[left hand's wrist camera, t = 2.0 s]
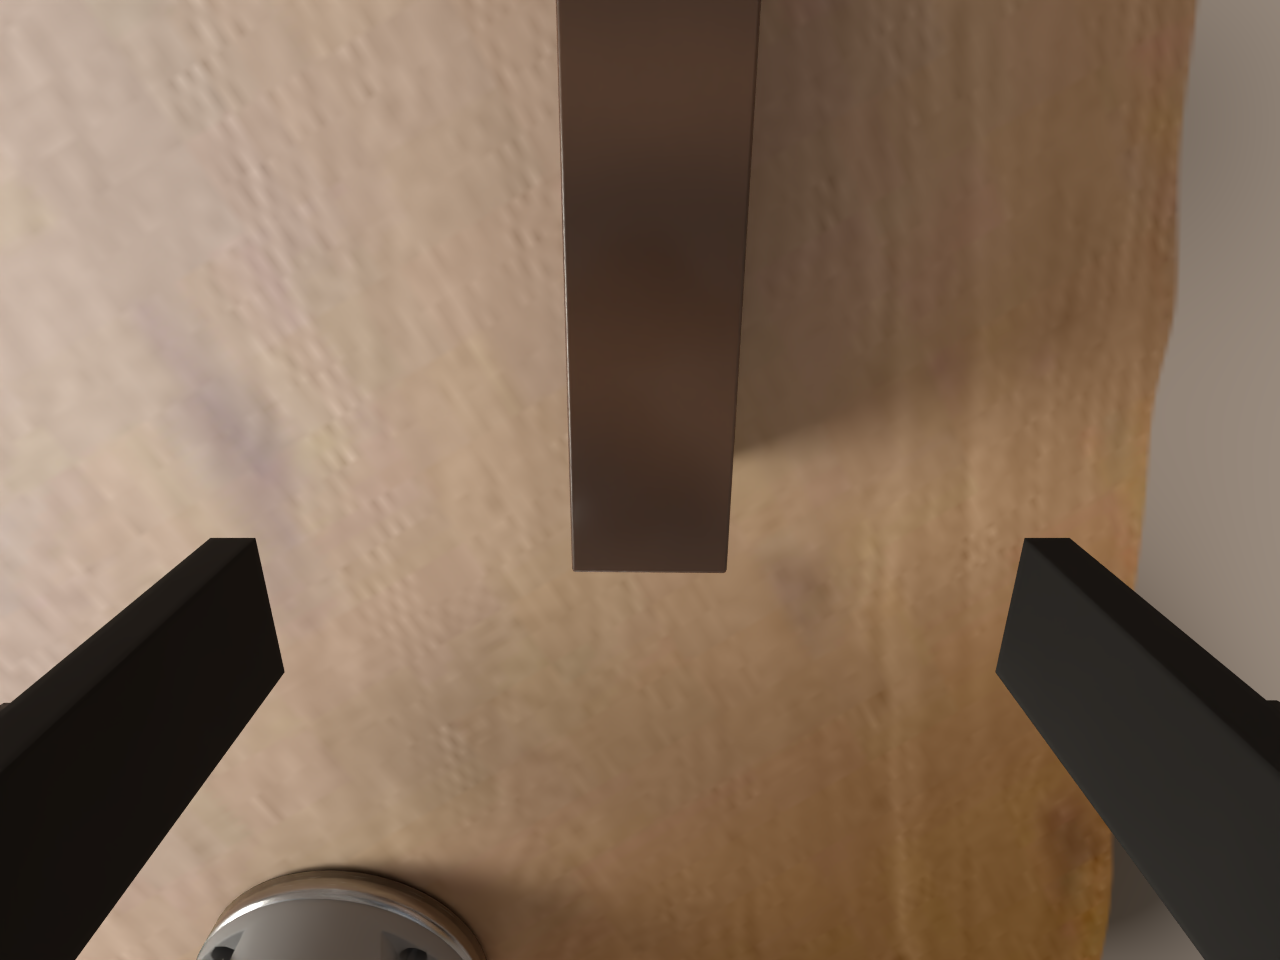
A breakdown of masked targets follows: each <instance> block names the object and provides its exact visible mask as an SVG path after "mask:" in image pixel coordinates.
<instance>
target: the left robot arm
mask: <svg viewBox="0 0 1280 960" xmlns="http://www.w3.org/2000/svg"><path fill="white" fill-rule="evenodd" d="M283 674H284V667H283V663H282V658H281V653H280V649H279V644H278V640H277V635H276V630H275V626H274V621H273V617H272V612H271V608H270V603H269V598H268V594H267V589H266V585H265V580H264V575H263V571H262V566H261V562H260V557H259V552H258V548H257V543H256V539H255V538H210V539H209V540H207V541H206V542H205V543H204V544H203V545H201V546H200V547H199V548H198V549H197V550H195V551H194V552H193V553H192V554H191V555H189V556H188V557H187V558H186V559H184V560H183V561H182V562H181V563H180V564H178V565H177V566H176V567H175V568H174V569H172V570H171V571H170V572H169V573H167V574H166V575H165V576H164V577H163V578H161V579H160V580H159V581H158V582H157V583H155V584H154V585H153V586H152V587H151V588H149V589H148V590H147V591H146V592H144V593H143V594H142V595H141V596H140V597H138V598H137V599H136V600H135V601H134V602H132V603H131V604H130V605H129V606H127V607H126V608H125V609H124V610H123V611H121V612H120V613H119V614H118V615H117V616H115V617H114V618H113V619H112V620H111V621H109V622H108V623H107V624H106V625H104V626H103V627H102V628H101V629H100V630H98V631H97V632H96V633H95V634H94V635H92V636H91V637H90V638H89V639H87V640H86V641H85V642H84V643H83V644H81V645H80V646H79V647H78V648H77V649H75V650H74V651H73V652H72V653H70V654H69V655H68V656H67V657H66V658H64V659H63V660H62V661H61V662H60V663H58V664H57V665H56V666H55V667H54V668H52V669H51V670H50V671H49V672H47V673H46V674H45V675H44V676H43V677H41V678H40V679H39V680H38V681H37V682H35V683H34V684H33V685H32V686H30V687H29V688H28V689H27V690H26V691H24V692H23V693H22V694H21V695H20V696H18V697H17V698H16V699H15V700H14V701H12V702H11V703H3V704H1V705H0V960H75V959H76V958H77V957H78V955H79V954H80V953H81V951H82V950H83V948H84V947H85V946H86V944H87V943H88V942H89V940H90V939H91V937H92V936H93V935H94V933H95V932H96V931H97V929H98V928H99V926H100V925H101V924H102V922H103V921H104V920H105V918H106V917H107V915H108V914H109V913H110V911H111V910H112V909H113V907H114V906H115V904H116V903H117V902H118V900H119V899H120V898H121V896H122V895H123V893H124V892H125V891H126V889H127V888H128V887H129V885H130V884H131V882H132V881H133V880H134V878H135V877H136V876H137V874H138V873H139V871H140V870H141V869H142V867H143V866H144V865H145V863H146V862H147V860H148V859H149V858H150V856H151V855H152V854H153V852H154V851H155V849H156V848H157V847H158V845H159V844H160V843H161V841H162V840H163V838H164V837H165V836H166V834H167V833H168V832H169V830H170V829H171V828H172V826H173V825H174V823H175V822H176V821H177V819H178V818H179V817H180V815H181V814H182V812H183V811H184V810H185V808H186V807H187V806H188V804H189V803H190V801H191V800H192V799H193V797H194V796H195V795H196V793H197V792H198V790H199V789H200V788H201V786H202V785H203V784H204V782H205V781H206V779H207V778H208V777H209V775H210V774H211V773H212V771H213V770H214V768H215V767H216V766H217V764H218V763H219V762H220V760H221V759H222V757H223V756H224V755H225V753H226V752H227V751H228V749H229V748H230V746H231V745H232V744H233V742H234V741H235V740H236V738H237V737H238V735H239V734H240V733H241V731H242V730H243V729H244V727H245V726H246V724H247V723H248V722H249V720H250V719H251V718H252V716H253V715H254V713H255V712H256V711H257V709H258V708H259V707H260V705H261V704H262V702H263V701H264V700H265V698H266V697H267V696H268V694H269V693H270V691H271V690H272V689H273V687H274V686H275V685H276V683H277V682H278V680H279V679H280V678H281V676H282V675H283ZM996 674H997V675H998V676H999V678H1000V679H1001V680H1002V682H1003V683H1004V685H1005V686H1006V687H1007V689H1008V690H1009V691H1010V693H1011V694H1012V696H1013V697H1014V698H1015V700H1016V701H1017V702H1018V704H1019V705H1020V707H1021V708H1022V709H1023V711H1024V712H1025V713H1026V715H1027V716H1028V718H1029V719H1030V720H1031V722H1032V723H1033V724H1034V726H1035V727H1036V729H1037V730H1038V731H1039V733H1040V734H1041V735H1042V737H1043V738H1044V740H1045V741H1046V742H1047V744H1048V745H1049V746H1050V748H1051V749H1052V751H1053V752H1054V753H1055V755H1056V756H1057V757H1058V759H1059V760H1060V762H1061V763H1062V764H1063V766H1064V767H1065V768H1066V770H1067V771H1068V773H1069V774H1070V775H1071V777H1072V778H1073V779H1074V781H1075V782H1076V784H1077V785H1078V786H1079V788H1080V789H1081V790H1082V792H1083V793H1084V795H1085V796H1086V797H1087V799H1088V800H1089V801H1090V803H1091V804H1092V806H1093V807H1094V808H1095V810H1096V811H1097V812H1098V814H1099V815H1100V817H1101V818H1102V819H1103V821H1104V822H1105V823H1106V825H1107V826H1108V828H1109V829H1110V830H1111V832H1112V833H1113V834H1114V836H1115V837H1116V838H1117V840H1118V841H1119V843H1120V844H1121V845H1122V847H1123V848H1124V849H1125V851H1126V852H1127V854H1128V855H1129V856H1130V858H1131V859H1132V860H1133V862H1134V863H1135V864H1136V866H1137V867H1138V869H1139V870H1140V871H1141V873H1142V874H1143V876H1144V877H1145V878H1146V880H1147V881H1148V882H1149V884H1150V885H1151V887H1152V888H1153V889H1154V891H1155V892H1156V893H1157V895H1158V896H1159V898H1160V899H1161V900H1162V902H1163V903H1164V904H1165V906H1166V907H1167V909H1168V910H1169V911H1170V913H1171V914H1172V915H1173V917H1174V918H1175V920H1176V921H1177V922H1178V924H1179V925H1180V926H1181V928H1182V929H1183V931H1184V932H1185V933H1186V935H1187V936H1188V937H1189V939H1190V940H1191V942H1192V943H1193V944H1194V946H1195V947H1196V948H1197V950H1198V951H1199V953H1200V954H1201V955H1202V957H1203V958H1204V959H1205V960H1280V702H1279V701H1277V700H1265V699H1264V698H1263V697H1262V696H1260V695H1259V694H1258V693H1257V692H1256V691H1254V690H1253V689H1252V688H1251V687H1250V686H1248V685H1247V684H1246V683H1245V682H1243V681H1242V680H1241V679H1240V678H1239V677H1237V676H1236V675H1235V674H1234V673H1233V672H1231V671H1230V670H1229V669H1228V668H1226V667H1225V666H1224V665H1223V664H1222V663H1220V662H1219V661H1218V660H1217V659H1215V658H1214V657H1213V656H1212V655H1211V654H1209V653H1208V652H1207V651H1206V650H1205V649H1203V648H1202V647H1201V646H1200V645H1199V644H1197V643H1196V642H1195V641H1194V640H1193V639H1191V638H1190V637H1189V636H1188V635H1186V634H1185V633H1184V632H1183V631H1182V630H1180V629H1179V628H1178V627H1177V626H1176V625H1174V624H1173V623H1172V622H1171V621H1169V620H1168V619H1167V618H1166V617H1165V616H1163V615H1162V614H1161V613H1160V612H1159V611H1157V610H1156V609H1155V608H1154V607H1153V606H1151V605H1150V604H1149V603H1148V602H1146V601H1145V600H1144V599H1143V598H1142V597H1140V596H1139V595H1138V594H1137V593H1136V592H1134V591H1133V590H1132V589H1131V588H1129V587H1128V586H1127V585H1126V584H1125V583H1123V582H1122V581H1121V580H1120V579H1119V578H1117V577H1116V576H1115V575H1114V574H1113V573H1111V572H1110V571H1109V570H1108V569H1106V568H1105V567H1104V566H1103V565H1102V564H1100V563H1099V562H1098V561H1097V560H1096V559H1094V558H1093V557H1092V556H1091V555H1089V554H1088V553H1087V552H1086V551H1085V550H1083V549H1082V548H1081V547H1080V546H1079V545H1077V544H1076V543H1075V542H1074V541H1073V540H1071V539H1070V538H1025V539H1024V543H1023V548H1022V552H1021V557H1020V562H1019V566H1018V571H1017V575H1016V580H1015V585H1014V589H1013V594H1012V598H1011V603H1010V608H1009V612H1008V617H1007V621H1006V626H1005V630H1004V635H1003V640H1002V644H1001V649H1000V653H999V658H998V663H997V667H996ZM197 960H486V958H485V955H484V952H483V950H482V948H481V946H480V944H479V942H478V941H477V939H476V937H475V936H474V934H473V933H472V932H471V930H470V929H469V928H468V927H467V925H466V924H465V923H464V922H463V921H462V920H461V919H460V918H459V917H458V916H456V915H455V914H454V913H453V912H452V911H451V910H449V909H448V908H447V907H445V906H444V905H443V904H441V903H440V902H438V901H437V900H435V899H433V898H432V897H430V896H428V895H426V894H424V893H422V892H420V891H418V890H416V889H414V888H412V887H409V886H407V885H405V884H402V883H399V882H396V881H393V880H390V879H387V878H383V877H379V876H375V875H370V874H364V873H358V872H349V871H333V870H326V871H309V872H300V873H295V874H289V875H285V876H282V877H278V878H274V879H272V880H269V881H266V882H263V883H261V884H259V885H257V886H255V887H253V888H251V889H250V890H248V891H246V892H245V893H243V894H242V895H240V896H239V897H238V898H236V899H235V900H234V901H233V902H232V903H231V904H230V905H229V906H228V907H227V908H226V909H225V910H224V912H223V913H222V914H221V915H220V917H219V919H218V921H217V922H216V924H215V926H214V928H213V929H212V931H211V933H210V934H209V936H208V938H207V940H206V941H205V943H204V945H203V947H202V949H201V950H200V952H199V954H198V957H197Z"/></svg>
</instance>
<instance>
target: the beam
mask: <svg viewBox="0 0 1280 960" xmlns="http://www.w3.org/2000/svg"><path fill="white" fill-rule="evenodd" d="M760 8H761V0H556V18H557V53H558V88H559V123H560V158H561V193H562V228H563V263H564V298H565V333H566V368H567V403H568V438H569V473H570V508H571V543H572V569H573V571H575V572H679V573H724V572H726V570H727V554H728V537H729V521H730V504H731V488H732V471H733V455H734V438H735V421H736V405H737V388H738V372H739V355H740V339H741V322H742V306H743V289H744V273H745V256H746V239H747V223H748V206H749V190H750V173H751V157H752V140H753V124H754V107H755V90H756V74H757V57H758V41H759V24H760Z"/></svg>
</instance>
